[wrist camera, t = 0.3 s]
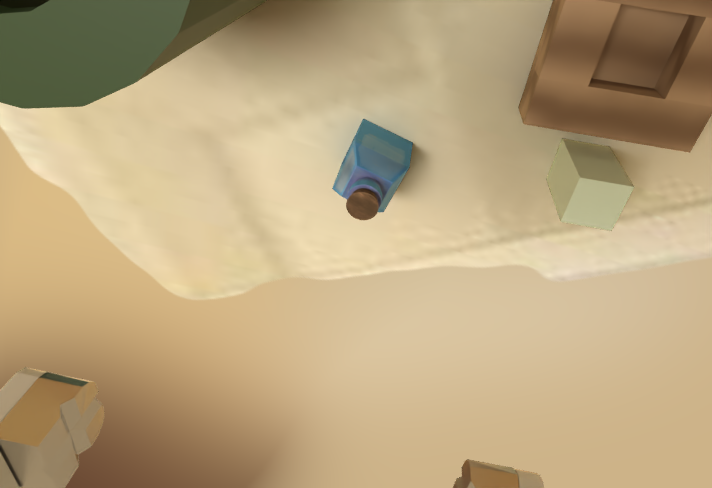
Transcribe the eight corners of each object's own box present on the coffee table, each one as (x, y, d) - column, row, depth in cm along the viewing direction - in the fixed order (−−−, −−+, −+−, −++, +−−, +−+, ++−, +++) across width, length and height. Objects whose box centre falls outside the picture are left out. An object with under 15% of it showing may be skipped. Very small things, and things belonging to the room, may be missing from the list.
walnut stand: (576, -71, 43) (587, -67, 39) (766, -43, 42) (796, -36, 38) (518, 107, 52) (523, 123, 49) (673, 133, 52) (690, 152, 48)
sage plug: (562, 138, 54) (580, 177, 46) (609, 146, 53) (634, 187, 46) (546, 179, 57) (560, 221, 49) (590, 186, 56) (611, 231, 49)
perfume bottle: (412, 142, 56) (405, 195, 47) (388, 185, 60) (377, 242, 50) (363, 118, 56) (345, 167, 46) (342, 163, 59) (321, 216, 50)
